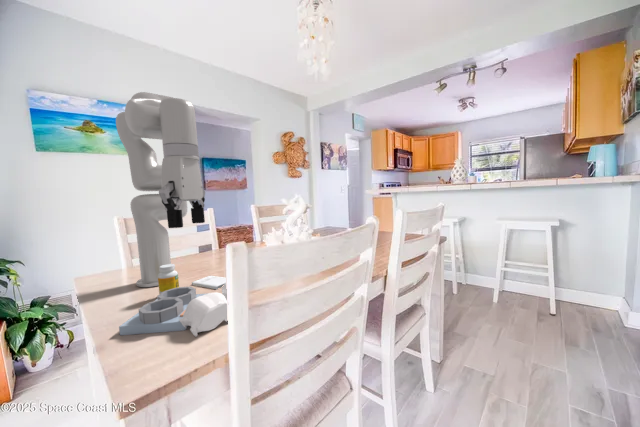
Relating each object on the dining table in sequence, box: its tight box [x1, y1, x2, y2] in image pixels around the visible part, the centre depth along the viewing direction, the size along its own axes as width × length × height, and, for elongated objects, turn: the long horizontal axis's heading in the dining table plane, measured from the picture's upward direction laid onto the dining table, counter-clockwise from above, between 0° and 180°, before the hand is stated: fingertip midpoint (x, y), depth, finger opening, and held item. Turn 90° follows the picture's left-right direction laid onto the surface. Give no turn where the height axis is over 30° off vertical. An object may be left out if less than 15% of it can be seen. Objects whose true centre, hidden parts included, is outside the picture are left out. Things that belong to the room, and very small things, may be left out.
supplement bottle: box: [158, 263, 180, 295], centre depth 81 cm, size 5×5×10 cm
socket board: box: [118, 286, 210, 336], centre depth 67 cm, size 17×14×4 cm
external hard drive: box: [191, 275, 227, 290], centre depth 92 cm, size 2×8×12 cm
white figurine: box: [179, 283, 228, 337], centre depth 63 cm, size 9×8×15 cm
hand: (188, 225), depth 65 cm, fingers open, 9 cm apart
